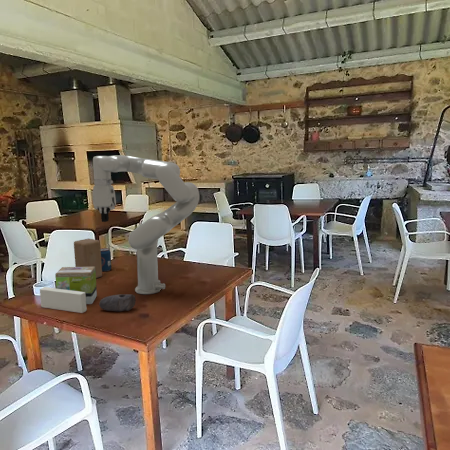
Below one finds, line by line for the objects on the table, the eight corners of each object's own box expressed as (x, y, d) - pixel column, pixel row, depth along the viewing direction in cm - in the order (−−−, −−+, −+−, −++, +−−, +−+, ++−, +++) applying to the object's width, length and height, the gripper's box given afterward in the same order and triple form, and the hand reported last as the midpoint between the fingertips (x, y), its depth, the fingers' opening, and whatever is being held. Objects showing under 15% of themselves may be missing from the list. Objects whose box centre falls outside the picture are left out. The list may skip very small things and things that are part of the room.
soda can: (96, 270, 223) (94, 250, 221) (105, 267, 229) (103, 247, 227) (105, 272, 220) (104, 251, 218) (114, 269, 226) (112, 248, 224)
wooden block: (86, 281, 204) (83, 243, 201) (75, 278, 210) (72, 241, 207) (103, 276, 212) (100, 240, 209) (91, 273, 218) (89, 237, 215)
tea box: (57, 305, 172) (54, 273, 170) (64, 297, 182) (61, 266, 180) (92, 304, 174) (90, 271, 171) (97, 296, 184) (95, 265, 181)
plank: (86, 310, 167) (85, 292, 166) (82, 313, 164) (80, 294, 163) (46, 304, 174) (44, 287, 172) (41, 307, 171) (39, 289, 170)
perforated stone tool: (97, 312, 165) (96, 297, 164) (101, 308, 170) (100, 292, 169) (133, 313, 164) (132, 297, 163) (136, 308, 170) (135, 292, 168)
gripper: (121, 182, 187) (123, 220, 190) (94, 181, 191) (96, 219, 195) (111, 183, 180) (114, 223, 183) (84, 183, 184) (86, 222, 188)
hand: (105, 221), depth 189 cm, fingers closed
